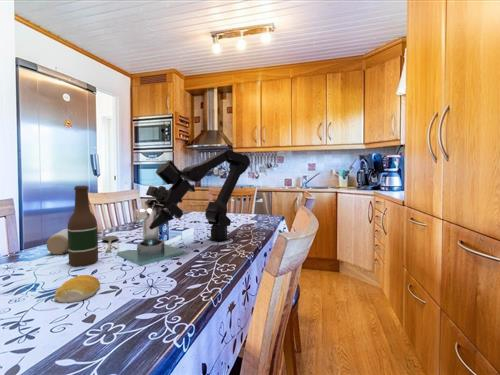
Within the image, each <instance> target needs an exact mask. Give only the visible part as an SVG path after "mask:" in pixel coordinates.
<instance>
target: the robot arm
mask: <svg viewBox="0 0 500 375" xmlns="http://www.w3.org/2000/svg"><path fill="white" fill-rule="evenodd" d="M225 162H226V163H227V164H229V172H228V174H227V176H226V179H225V181H224V183H223V185H222V187H221V189H220V191H219V193H218V195H217V197H216V199H215V200H214V201H209V202H208V205H207V207H206V208H205V212H204V214H205V218H206V220H207V223H208V224H209V225H210V226H211V227H210V237H209V238H208V240H209V241H213V242H217V243H220V242H224V241H228V240H230V239H231V238H230V237H228V227H230V226H231V223H232V220H231V219H230V218H229V217H228V216H227V213H228V203H229V201H230V199H231V196H232V194H233V192H234V190H235V187H236V186H237V185H238V184H237V183H238V181H239V179H240V177H241V175H243V173H245V172H246V171H247V170H248V168H249V166H250V164H251V161H250V157H249V155H247V154H242V153H238V152H236V151H233V150H231V149H222V150H221V151H219V152H217V153H216V154H214V155H212V156H210V157H209V158H207V159H205V160H203V161H202V162H200V163H196V164H191V165H189V166H186V167H184V168H183V169H182V170H181V169H179V168H178V166H176V165H175V164H174V162H173V160H167V161H166V162H165V163H163V164H162V165H160V166H159V167H158V168H157V169H156V171H155V174H156V175H157V176H158V177H159V178H160V179H161V180H162V181H163V182H164V183H165V184H166V185H171V186H170V187H169V188H168V189H167V187H166V186H163V185H159V186H153V185H149V186H148V189H147V190H146V193H145V195H146V196H148V197H149V196H150V197H152V198H148V199H147V200H146V201H145V202H144V204H145V205H146V206H147V208H150V207H156V208H158V215H157V216H156V217H155V219H154V220H153V222H152V223H151V225H150V227H149V228H150V229H151V230H152V229H154V228H156V227H158V226H159V227H160V226H161V225H164V224H165V223H167V222H169V221H172V220H174V219H178V220H180V219H181V218H182V216H183V215H184V211H183V210H182V209H181V208H180V207H179V206H178V204H179V203H180V204H182V203H183V198H184V197H185V196H186V195H187V193H189V192H190V193H195V192H196V188H195V184H191V182H192V183H196V182H197V183H198V182H200V181H201V180H203V179H204V178H205V177H206V175H207V173H209V172H210V171H211V170H213V169H214V168H217V167H218V166H220V165H221V164H223V163H225Z"/></svg>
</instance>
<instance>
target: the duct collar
mask: <svg viewBox="0 0 500 375" xmlns="http://www.w3.org/2000/svg"><path fill="white" fill-rule="evenodd" d="M136 246H137V247H136V248H137V250H130V249H126V250H121V251H117V252H116V255H117V256H118V257H120V258H123V259H124V260H127V261H129V262H131V263H133V264H136V265H138V266H145V265H149V264H151V263H155V262H159V261H163V260H167V259H169V258H171V259H172V258H174V257H178V256H181V255H185V253H186V250H184V249H181V248H177V247H174V246H171V245H167V244H165V240H163V239H159V244H157V245H151V246H143V240H141V241H140V242H137V245H136Z"/></svg>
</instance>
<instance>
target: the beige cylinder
mask: <svg viewBox="0 0 500 375" xmlns="http://www.w3.org/2000/svg"><path fill="white" fill-rule="evenodd" d="M46 249H47V250H48V252H49V253H50V254H53V255H56V256H57V255H63V254H66V253H68V228H64V229H61V230H60V231H58V232H56V233H54V234H52V235H51V236H50V237H49V238H48V239H47V241H46Z"/></svg>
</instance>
